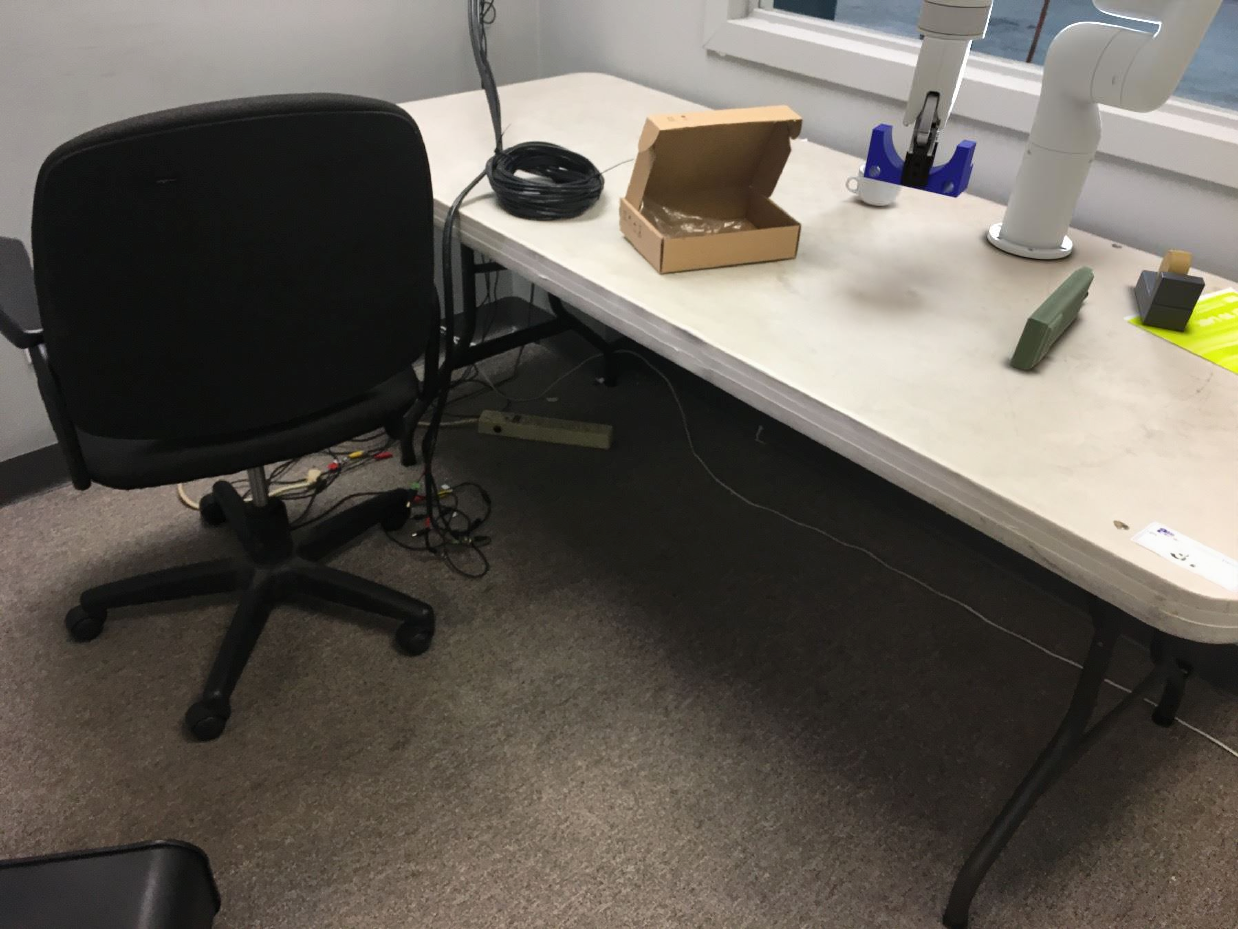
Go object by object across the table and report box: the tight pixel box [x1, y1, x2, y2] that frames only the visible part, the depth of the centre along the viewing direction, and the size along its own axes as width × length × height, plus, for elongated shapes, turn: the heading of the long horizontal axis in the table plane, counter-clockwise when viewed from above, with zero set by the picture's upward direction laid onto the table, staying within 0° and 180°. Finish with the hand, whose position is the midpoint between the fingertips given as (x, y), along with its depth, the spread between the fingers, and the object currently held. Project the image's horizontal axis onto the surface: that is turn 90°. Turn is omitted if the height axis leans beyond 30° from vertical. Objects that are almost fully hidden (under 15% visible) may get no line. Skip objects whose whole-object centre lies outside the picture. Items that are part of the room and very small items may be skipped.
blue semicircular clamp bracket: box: [863, 123, 978, 199], centre depth 108 cm, size 12×4×6 cm, turn 56°
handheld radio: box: [1010, 266, 1095, 371], centre depth 111 cm, size 7×3×25 cm
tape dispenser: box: [1134, 249, 1206, 332], centre depth 118 cm, size 12×5×8 cm, turn 159°
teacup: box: [845, 163, 903, 207], centre depth 149 cm, size 10×8×5 cm
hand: (915, 177), depth 109 cm, fingers closed on blue semicircular clamp bracket, 4 cm apart
